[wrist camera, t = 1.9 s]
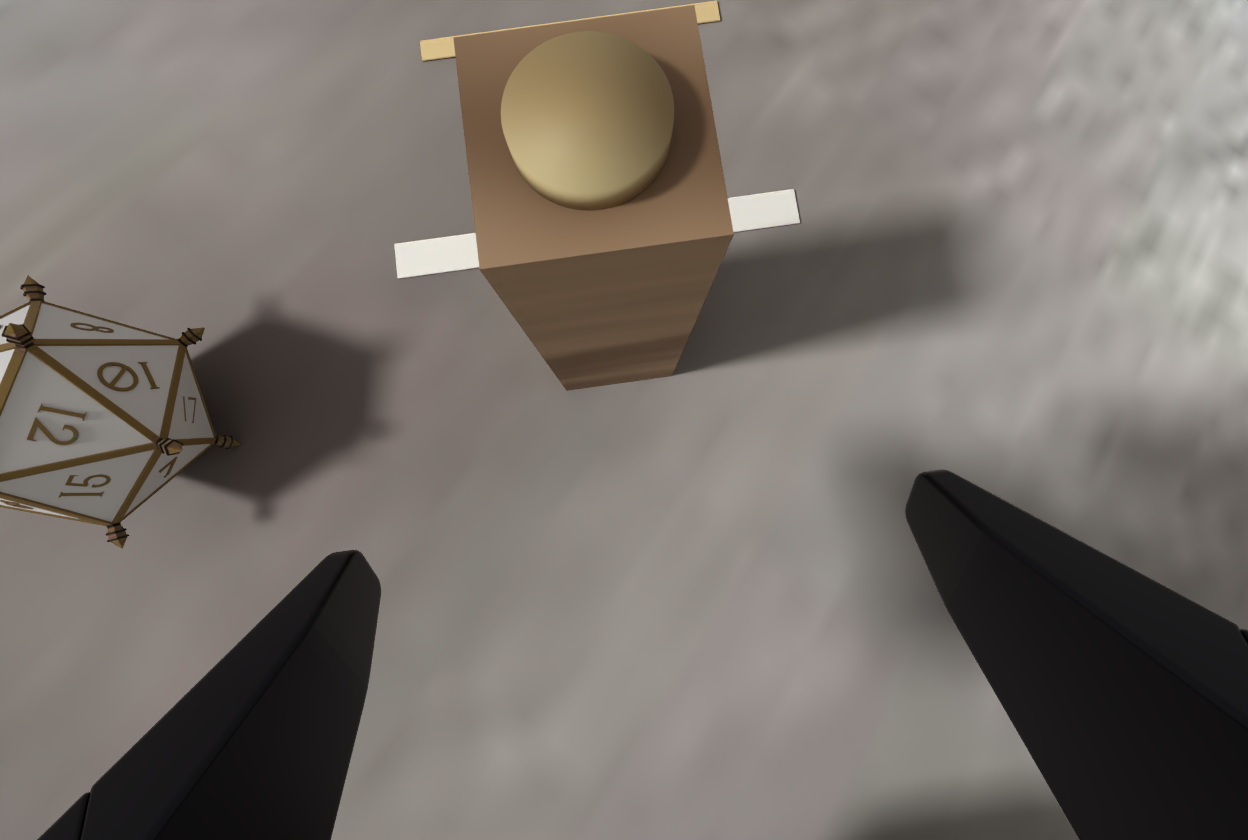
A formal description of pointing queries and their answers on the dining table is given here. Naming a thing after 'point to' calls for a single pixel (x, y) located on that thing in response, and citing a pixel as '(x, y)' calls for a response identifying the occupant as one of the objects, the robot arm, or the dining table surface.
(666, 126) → the walnut block
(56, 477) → the game die
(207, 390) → the dining table surface
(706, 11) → the strip
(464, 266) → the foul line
